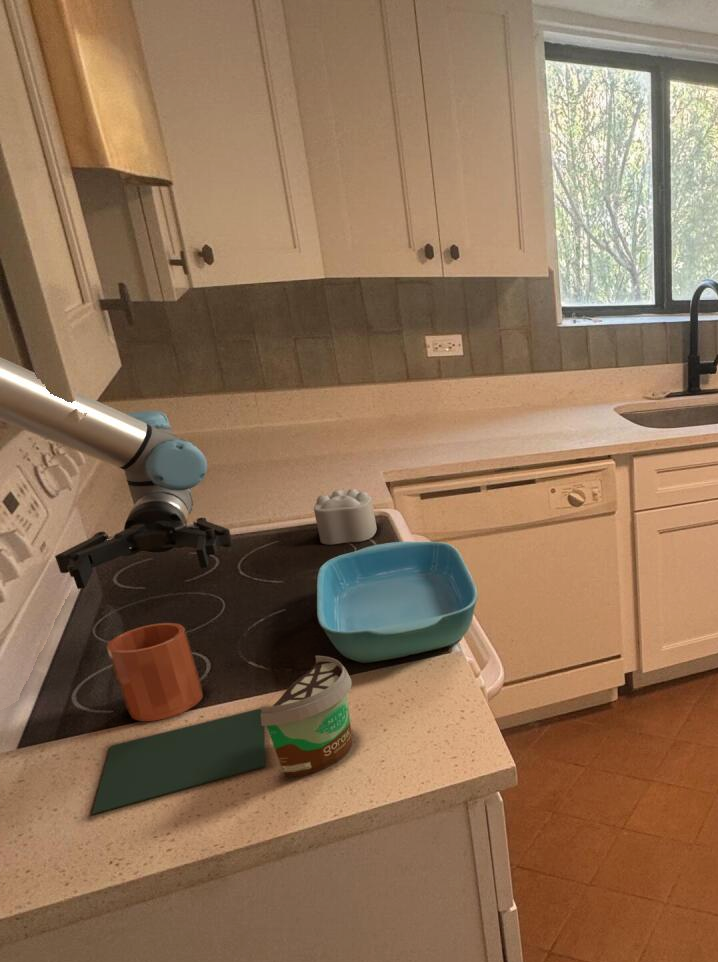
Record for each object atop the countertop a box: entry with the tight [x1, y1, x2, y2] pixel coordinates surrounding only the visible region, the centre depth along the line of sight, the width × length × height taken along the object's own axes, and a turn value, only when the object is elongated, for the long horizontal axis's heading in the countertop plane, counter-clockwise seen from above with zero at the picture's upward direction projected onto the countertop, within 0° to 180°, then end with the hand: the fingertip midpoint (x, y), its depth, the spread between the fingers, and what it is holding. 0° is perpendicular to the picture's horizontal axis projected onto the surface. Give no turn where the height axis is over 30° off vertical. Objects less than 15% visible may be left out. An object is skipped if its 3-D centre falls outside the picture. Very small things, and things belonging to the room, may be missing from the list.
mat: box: [91, 708, 266, 816], centre depth 93 cm, size 14×16×1 cm
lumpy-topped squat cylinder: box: [313, 487, 378, 545], centre depth 163 cm, size 10×13×9 cm
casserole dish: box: [316, 541, 479, 664], centre depth 126 cm, size 37×22×7 cm, turn 28°
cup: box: [106, 622, 204, 722], centre depth 102 cm, size 8×8×10 cm
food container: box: [260, 655, 353, 778], centre depth 92 cm, size 12×6×10 cm, turn 179°
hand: (141, 568), depth 106 cm, fingers open, 13 cm apart
